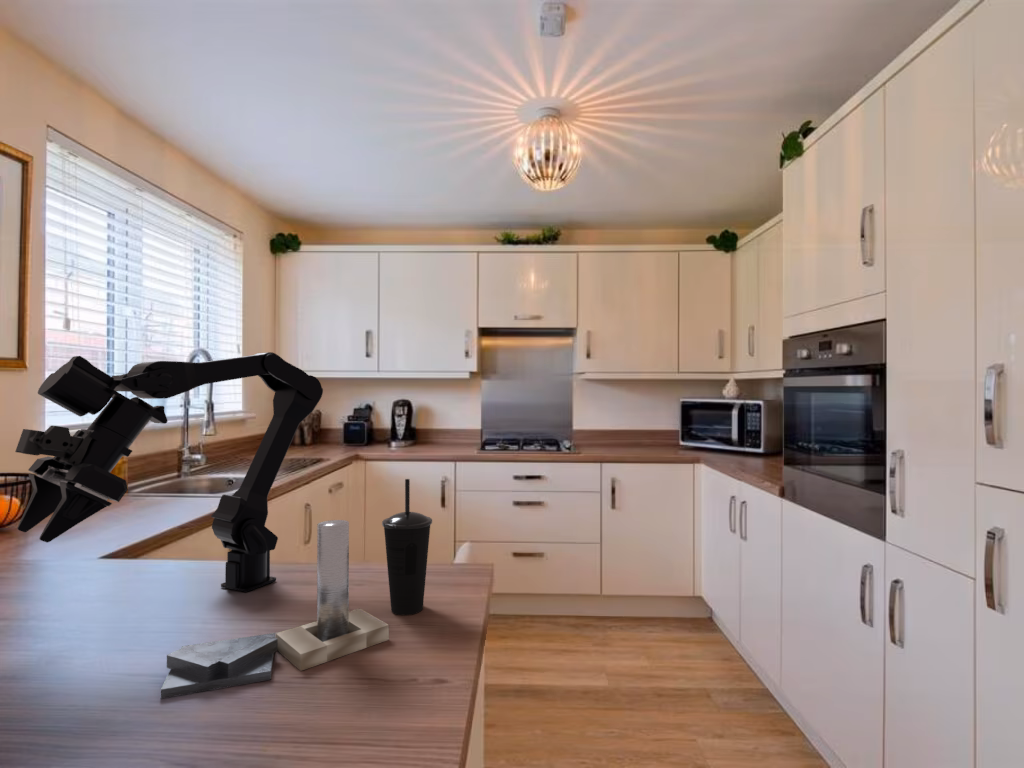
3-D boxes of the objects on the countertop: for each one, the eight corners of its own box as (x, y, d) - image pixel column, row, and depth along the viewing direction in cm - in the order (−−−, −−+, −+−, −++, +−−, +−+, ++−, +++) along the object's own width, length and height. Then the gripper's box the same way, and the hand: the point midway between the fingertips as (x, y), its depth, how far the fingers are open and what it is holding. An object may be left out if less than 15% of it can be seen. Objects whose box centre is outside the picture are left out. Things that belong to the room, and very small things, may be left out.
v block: (177, 654, 70) (177, 635, 70) (279, 639, 74) (279, 621, 74) (155, 699, 60) (155, 676, 60) (275, 678, 64) (275, 657, 64)
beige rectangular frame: (300, 671, 66) (300, 654, 66) (275, 648, 71) (275, 633, 71) (388, 639, 74) (388, 624, 74) (359, 622, 80) (359, 608, 80)
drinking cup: (441, 604, 86) (441, 477, 87) (413, 622, 79) (413, 484, 80) (401, 596, 90) (402, 474, 90) (371, 613, 83) (371, 481, 83)
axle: (332, 635, 75) (332, 518, 76) (355, 640, 74) (355, 521, 74) (310, 647, 72) (310, 525, 72) (334, 653, 70) (334, 528, 70)
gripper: (32, 402, 79) (-56, 501, 72) (80, 403, 69) (-18, 519, 61) (106, 442, 87) (33, 535, 79) (160, 448, 76) (81, 556, 69)
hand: (31, 535), depth 72 cm, fingers open, 9 cm apart
